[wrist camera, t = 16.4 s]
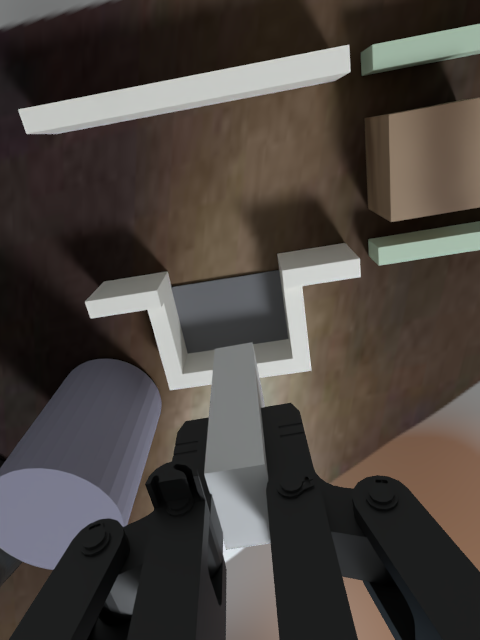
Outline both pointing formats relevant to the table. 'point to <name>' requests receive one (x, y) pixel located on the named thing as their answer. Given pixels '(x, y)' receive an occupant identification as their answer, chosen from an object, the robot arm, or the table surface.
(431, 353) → the table surface
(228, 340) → the white walled enclosure
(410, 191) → the block
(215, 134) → the table surface
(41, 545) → the lavender cylinder
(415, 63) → the rails
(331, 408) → the table surface
